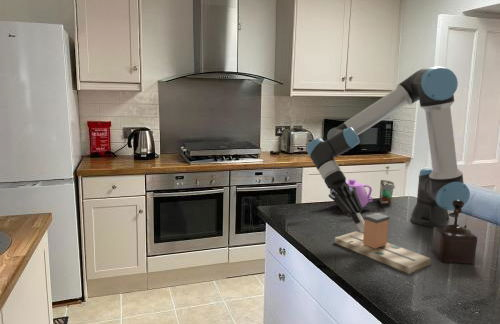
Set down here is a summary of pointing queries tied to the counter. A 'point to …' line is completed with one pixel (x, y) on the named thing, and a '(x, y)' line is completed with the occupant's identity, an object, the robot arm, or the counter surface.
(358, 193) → the teapot
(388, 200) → the food container
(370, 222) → the fader knob
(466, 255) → the coffee grinder
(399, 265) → the fader board
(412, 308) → the counter surface
